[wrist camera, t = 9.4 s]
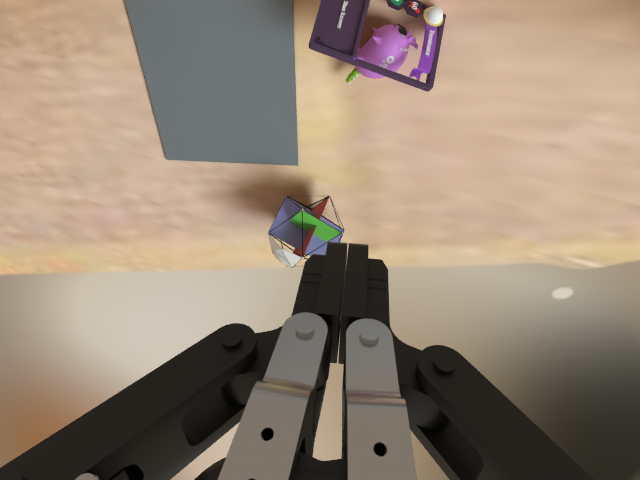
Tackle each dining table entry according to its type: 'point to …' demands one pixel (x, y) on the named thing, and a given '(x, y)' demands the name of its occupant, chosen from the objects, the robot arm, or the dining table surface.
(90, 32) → the dining table surface
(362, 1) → the game card
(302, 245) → the geometric puzzle
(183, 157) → the mat
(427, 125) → the dining table surface
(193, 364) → the robot arm
